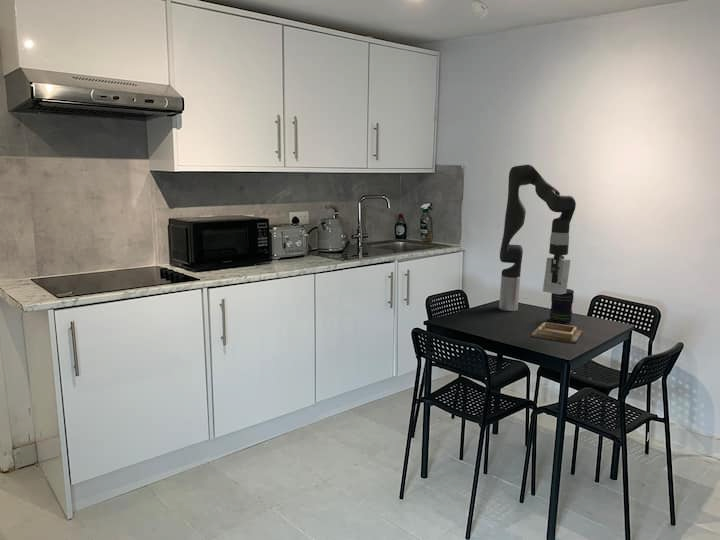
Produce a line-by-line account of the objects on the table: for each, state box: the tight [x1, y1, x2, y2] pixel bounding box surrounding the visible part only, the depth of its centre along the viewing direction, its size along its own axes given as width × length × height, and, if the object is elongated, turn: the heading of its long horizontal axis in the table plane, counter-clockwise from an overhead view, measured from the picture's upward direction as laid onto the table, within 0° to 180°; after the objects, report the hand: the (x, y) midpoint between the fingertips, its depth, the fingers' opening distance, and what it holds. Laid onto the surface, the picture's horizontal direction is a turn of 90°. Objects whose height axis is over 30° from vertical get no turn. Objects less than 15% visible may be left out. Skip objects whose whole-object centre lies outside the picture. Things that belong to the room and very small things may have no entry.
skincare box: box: [542, 256, 571, 294], centre depth 237 cm, size 8×6×15 cm
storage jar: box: [549, 288, 575, 324], centre depth 262 cm, size 10×10×15 cm
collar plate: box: [530, 321, 583, 344], centre depth 240 cm, size 18×18×3 cm
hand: (556, 281), depth 237 cm, fingers closed on skincare box, 7 cm apart
